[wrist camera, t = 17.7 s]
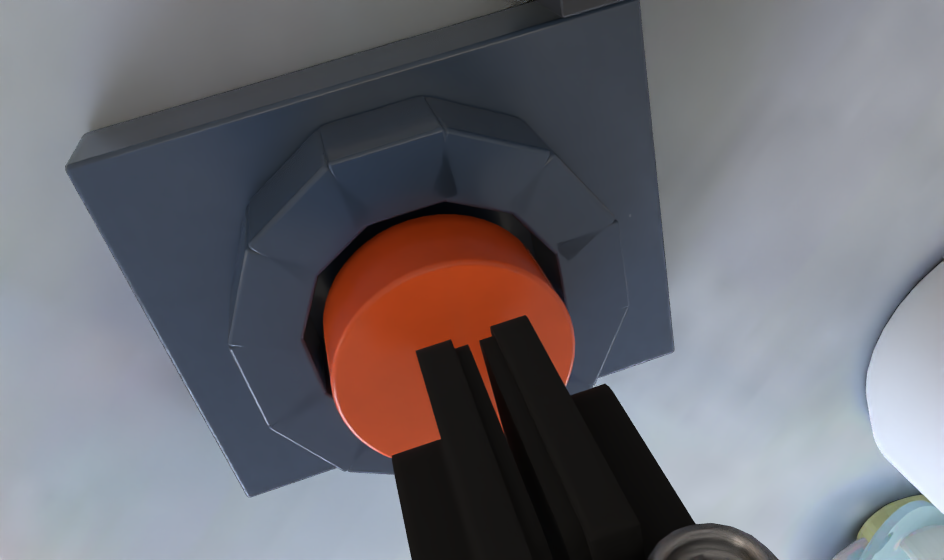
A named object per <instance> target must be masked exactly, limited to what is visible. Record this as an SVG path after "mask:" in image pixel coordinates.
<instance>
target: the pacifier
mask: <svg viewBox="0 0 944 560" xmlns="http://www.w3.org/2000/svg"><path fill="white" fill-rule="evenodd" d="M832 560H944V514H943V513H942V512H941V511H939V510H938V509H937V508H936V507H935V506H934V505H933V504H932V503H931V502H930V501H929V500H928V499H927V498H926V497H925V496H924V495H916V496H911V497H907V498H903V499H900V500H897V501H895V502H892V503H890V504H888V505H886V506H884V507H883V508H881V509H880V510H879V511H877V512H876V513H875V514H874V515H872V516H871V517H870V518H869V519H868V520H867V521H866V522H865V523H864V525H863V526H862V528H861V529H860V531H859V533H858V535H857V541H855V542H853V543H852V544H850V545H849V546H847V547H846V548H845V549H843V550H842V551H840V552H839V553H838V554H837V555H836V556H835V557H834V558H833V559H832Z"/></svg>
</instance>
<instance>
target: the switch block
mask: <svg viewBox="0 0 944 560" xmlns="http://www.w3.org/2000/svg"><path fill="white" fill-rule="evenodd" d="M65 170H66V172H67V174H68V176H69V178H70V180H71V181H72V183H73V185H74V187H75V189H76V190H77V192H78V194H79V196H80V198H81V199H82V201H83V203H84V205H85V206H86V208H87V210H88V212H89V214H90V215H91V217H92V219H93V221H94V223H95V224H96V226H97V228H98V230H99V232H100V233H101V235H102V237H103V239H104V241H105V242H106V244H107V246H108V248H109V250H110V251H111V253H112V255H113V257H114V259H115V260H116V262H117V264H118V266H119V268H120V269H121V271H122V273H123V275H124V276H125V278H126V280H127V282H128V284H129V285H130V287H131V289H132V291H133V293H134V294H135V296H136V298H137V300H138V302H139V303H140V305H141V307H142V309H143V311H144V312H145V314H146V316H147V318H148V320H149V321H150V323H151V325H152V327H153V329H154V330H155V332H156V334H157V336H158V338H159V339H160V341H161V343H162V345H163V346H164V348H165V350H166V352H167V354H168V355H169V357H170V359H171V361H172V363H173V364H174V366H175V368H176V370H177V372H178V373H179V375H180V377H181V379H182V381H183V382H184V384H185V386H186V388H187V390H188V391H189V393H190V395H191V397H192V399H193V400H194V402H195V404H196V406H197V408H198V409H199V411H200V413H201V415H202V416H203V418H204V420H205V422H206V424H207V425H208V427H209V429H210V431H211V433H212V434H213V436H214V438H215V440H216V442H217V443H218V445H219V447H220V449H221V451H222V452H223V454H224V456H225V458H226V460H227V461H228V463H229V465H230V467H231V469H232V470H233V472H234V474H235V476H236V478H237V479H238V481H239V483H240V485H241V486H242V488H243V490H244V492H245V494H246V495H247V497H253V496H256V495H259V494H262V493H265V492H268V491H271V490H274V489H277V488H280V487H282V486H285V485H288V484H291V483H294V482H297V481H300V480H303V479H306V478H309V477H312V476H315V475H317V474H320V473H323V472H326V471H329V470H332V469H335V468H339V469H341V470H342V471H349V472H358V473H375V474H393V475H394V470H393V464H392V458H389V457H387V456H384V455H382V454H380V453H378V452H377V451H375V450H373V449H371V448H370V447H368V446H367V445H366V444H364V443H363V442H362V441H361V440H360V439H358V438H357V437H356V436H355V435H354V434H353V433H352V432H351V431H350V429H349V428H348V427H347V425H346V424H345V423H344V422H343V420H342V418H341V416H340V414H339V412H338V411H337V409H336V405H335V402H334V399H333V396H332V390H331V383H330V376H329V369H328V361H327V354H326V347H325V340H324V333H323V313H324V307H325V302H326V298H327V295H328V292H329V289H330V287H331V285H332V283H333V281H334V279H335V277H336V275H337V274H338V272H339V271H340V269H341V268H342V266H343V265H344V264H345V262H346V261H347V260H348V259H349V258H350V257H351V256H352V254H353V253H354V252H355V251H356V250H357V249H359V248H360V247H361V246H362V245H363V244H364V243H365V242H367V241H368V240H369V239H371V238H372V237H374V236H375V235H377V234H378V233H380V232H382V231H384V230H386V229H387V228H389V227H391V226H393V225H396V224H398V223H401V222H404V221H406V220H409V219H413V218H417V217H421V216H427V215H435V214H458V215H467V216H472V217H476V218H480V219H484V220H486V221H489V222H491V223H494V224H496V225H498V226H500V227H502V228H504V229H505V230H507V231H509V232H510V233H511V234H513V235H514V236H515V237H516V238H518V239H519V240H520V241H521V242H522V243H523V244H524V245H525V246H526V248H527V249H528V250H529V251H530V253H531V254H532V256H533V257H534V259H535V260H536V262H537V263H538V265H539V266H540V268H541V269H542V271H543V272H544V274H545V275H546V277H547V278H548V280H549V281H550V283H551V284H552V286H553V288H554V289H555V291H556V292H557V294H558V295H559V297H560V298H561V300H562V301H563V303H564V304H565V306H566V308H567V310H568V313H569V315H570V317H571V321H572V324H573V328H574V335H575V356H574V362H573V367H572V371H571V374H570V377H569V380H568V383H567V385H566V388H567V390H568V392H569V394H570V395H573V394H576V393H579V392H582V391H585V390H588V389H591V388H592V387H593V385H594V384H595V383H596V381H597V379H598V378H600V377H603V376H606V375H609V374H612V373H615V372H617V371H620V370H623V369H626V368H629V367H632V366H635V365H638V364H641V363H644V362H647V361H650V360H652V359H655V358H658V357H661V356H664V355H667V354H670V353H672V352H674V341H673V331H672V321H671V311H670V301H669V291H668V281H667V271H666V261H665V251H664V241H663V231H662V221H661V211H660V201H659V191H658V181H657V171H656V161H655V151H654V141H653V131H652V121H651V111H650V101H649V91H648V81H647V71H646V61H645V51H644V41H643V30H642V20H641V10H640V0H624V1H620V2H617V3H613V4H610V5H607V6H603V7H600V8H597V9H593V10H590V11H587V12H583V13H580V14H576V15H573V16H570V17H566V18H562V17H561V16H559V15H557V14H555V13H554V12H552V11H550V10H549V9H547V8H545V7H544V6H542V5H540V4H539V3H537V2H535V1H534V2H530V3H527V4H523V5H520V6H517V7H513V8H510V9H506V10H503V11H500V12H496V13H493V14H489V15H486V16H483V17H479V18H476V19H472V20H469V21H466V22H462V23H459V24H455V25H452V26H449V27H445V28H442V29H438V30H435V31H432V32H428V33H425V34H421V35H418V36H415V37H411V38H408V39H404V40H401V41H398V42H394V43H391V44H387V45H384V46H381V47H377V48H374V49H370V50H367V51H364V52H360V53H357V54H354V55H350V56H347V57H343V58H340V59H337V60H333V61H330V62H326V63H323V64H320V65H316V66H313V67H309V68H306V69H303V70H299V71H296V72H292V73H289V74H286V75H282V76H279V77H275V78H272V79H269V80H265V81H262V82H258V83H255V84H252V85H248V86H245V87H241V88H238V89H235V90H231V91H228V92H224V93H221V94H218V95H214V96H211V97H207V98H204V99H201V100H197V101H194V102H190V103H187V104H184V105H180V106H177V107H173V108H170V109H167V110H163V111H160V112H157V113H153V114H150V115H146V116H143V117H140V118H136V119H133V120H129V121H126V122H123V123H119V124H116V125H112V126H109V127H106V128H102V129H99V130H95V131H92V132H89V133H86V134H84V135H83V136H82V138H81V140H80V142H79V143H78V145H77V147H76V149H75V150H74V152H73V154H72V156H71V157H70V159H69V161H68V163H67V164H66V166H65Z"/></svg>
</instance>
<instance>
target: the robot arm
mask: <svg viewBox="0 0 944 560" xmlns="http://www.w3.org/2000/svg"><path fill="white" fill-rule="evenodd" d="M490 331H491V335H492V336H491V337H488V338H485V339H482V340H479V342H480V347H481V351H482V354H483V358H484V362H485V365H486V369H487V373H488V376H489V380H490V383H491V387H492V391H493V394H494V398H495V402H496V405H497V409H498V413H499V416H500V420H501V424H502V427H503V430H502V427H501V425H500V422H499V420H498V417H497V415H496V412H495V410H494V407H493V405H492V402H491V400H490V397H489V395H488V392H487V390H486V387H485V385H484V382H483V380H482V377H481V375H480V372H479V370H478V367H477V365H476V362H475V360H474V357H473V355H472V352H471V350H470V347H469V345H468V344H467V345H464V346H461V347H458V348H454V346H453V343H452V340H451V339H450V340H447V341H444V342H441V343H438V344H434V345H431V346H428V347H425V348H422V349H419V350H416V355H417V358H418V362H419V365H420V369H421V372H422V375H423V379H424V382H425V386H426V389H427V393H428V396H429V399H430V403H431V406H432V410H433V413H434V416H435V420H436V423H437V427H438V430H439V434H440V437H441V439H439V440H436V441H433V442H430V443H427V444H424V445H421V446H418V447H415V448H412V449H409V450H406V451H403V452H400V453H397V454H394V455H392V464H393V470H394V475H395V479H396V484H397V489H398V494H399V499H400V504H401V509H402V514H403V519H404V524H405V529H406V534H407V539H408V543H409V548H410V553H411V558H412V560H778V559H777V557H776V556H775V555H774V554H773V553H772V552H771V551H770V550H769V549H768V548H767V547H766V546H764V545H763V544H762V543H761V542H759V541H758V540H757V539H756V538H754V537H753V536H752V535H750V534H748V533H745V532H743V531H741V530H739V529H736V528H734V527H731V526H725V525H720V524H714V523H707V524H695V522H694V521H693V519H692V518H691V516H690V514H689V513H688V511H687V510H686V508H685V506H684V505H683V503H682V502H681V500H680V498H679V497H678V495H677V494H676V492H675V490H674V489H673V487H672V486H671V484H670V482H669V481H668V479H667V478H666V476H665V474H664V473H663V471H662V470H661V468H660V466H659V465H658V463H657V462H656V460H655V458H654V457H653V455H652V454H651V452H650V450H649V449H648V447H647V445H646V444H645V442H644V441H643V439H642V437H641V436H640V434H639V433H638V431H637V429H636V428H635V426H634V425H633V423H632V421H631V420H630V418H629V417H628V415H627V413H626V412H625V410H624V409H623V407H622V405H621V404H620V402H619V401H618V399H617V397H616V396H615V394H614V393H613V391H612V390H611V389H610V387H609V386H607V385H606V384H603V385H600V386H597V387H594V388H591V389H588V390H585V391H582V392H579V393H576V394H573V395H570V394H569V392H568V390H567V388H566V387H565V385H564V383H563V381H562V379H561V377H560V376H559V374H558V372H557V370H556V368H555V366H554V365H553V363H552V361H551V359H550V357H549V355H548V353H547V352H546V350H545V348H544V346H543V344H542V342H541V341H540V339H539V337H538V335H537V333H536V331H535V330H534V328H533V326H532V324H531V322H530V320H529V319H528V317H527V316H526V315H524V316H520V317H517V318H514V319H511V320H508V321H505V322H502V323H499V324H496V325H493V326H490ZM503 431H504V432H503Z"/></svg>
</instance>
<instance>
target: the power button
mask: <svg viewBox="0 0 944 560" xmlns="http://www.w3.org/2000/svg"><path fill="white" fill-rule="evenodd" d="M524 315H526V316H527V317H528V319H529V320H530V322H531V324H532V326H533V328H534V330H535V331H536V333H537V335H538V337H539V339H540V341H541V342H542V344H543V346H544V348H545V350H546V352H547V353H548V355H549V357H550V359H551V361H552V363H553V365H554V366H555V368H556V370H557V372H558V374H559V376H560V377H561V379H562V381H563V383H564V385H565V387H566V385H567V383H568V380H569V377H570V374H571V371H572V367H573V362H574V356H575V335H574V328H573V324H572V321H571V317H570V315H569V313H568V310H567V308H566V306H565V304H564V303H563V301H562V300H561V298H560V297H559V295H558V294H557V292H556V291H555V289H554V288H553V286H552V284H551V283H550V281H549V280H548V278H547V277H546V275H545V274H544V272H543V271H542V269H541V268H540V266H539V265H538V263H537V262H536V260H535V259H534V257H533V256H532V254H531V253H530V251H529V250H528V249H527V248H526V246H525V245H524V244H523V243H522V242H521V241H520V240H519V239H518V238H516V237H515V236H514V235H513V234H511V233H510V232H509V231H507V230H505V229H504V228H502V227H500V226H498V225H496V224H494V223H491V222H489V221H486V220H484V219H480V218H476V217H472V216H467V215H458V214H435V215H427V216H421V217H417V218H413V219H409V220H406V221H404V222H401V223H398V224H396V225H393V226H391V227H389V228H387V229H386V230H384V231H382V232H380V233H378V234H377V235H375V236H374V237H372V238H371V239H369V240H368V241H367V242H365V243H364V244H363V245H362V246H361V247H360V248H359V249H357V250H356V251H355V252H354V253H353V254H352V256H351V257H350V258H349V259H348V260H347V261H346V262H345V264H344V265H343V266H342V268H341V269H340V271H339V272H338V274H337V275H336V277H335V279H334V281H333V283H332V285H331V287H330V289H329V292H328V295H327V298H326V302H325V307H324V313H323V333H324V340H325V347H326V354H327V361H328V369H329V376H330V383H331V390H332V396H333V399H334V402H335V405H336V409H337V411H338V412H339V414H340V416H341V418H342V420H343V422H344V423H345V424H346V425H347V427H348V428H349V429H350V431H351V432H352V433H353V434H354V435H355V436H356V437H357V438H358V439H360V440H361V441H362V442H363V443H364V444H366V445H367V446H368V447H370V448H371V449H373V450H375V451H377V452H378V453H380V454H382V455H384V456H387V457H389V458H392V455H394V454H397V453H400V452H403V451H406V450H409V449H412V448H415V447H418V446H421V445H424V444H427V443H430V442H433V441H436V440H439V439H441V437H440V434H439V430H438V427H437V423H436V420H435V416H434V413H433V410H432V406H431V403H430V399H429V396H428V393H427V389H426V386H425V382H424V379H423V375H422V372H421V369H420V365H419V362H418V358H417V355H416V350H419V349H422V348H425V347H428V346H431V345H434V344H438V343H441V342H444V341H447V340H450V339H451V340H452V343H453V346H454V348H458V347H461V346H464V345H467V344H468V345H469V347H470V350H471V352H472V355H473V357H474V360H475V362H476V365H477V367H478V370H479V372H480V375H481V377H482V380H483V382H484V385H485V387H486V390H487V392H488V395H489V397H490V400H491V402H492V405H493V407H494V410H495V412H496V415H497V417H498V420H499V422H500V425H501V427H502V424H501V420H500V416H499V413H498V409H497V405H496V402H495V398H494V394H493V391H492V387H491V383H490V380H489V376H488V373H487V369H486V365H485V362H484V358H483V354H482V351H481V347H480V342H479V340H482V339H485V338H488V337H491V336H492V335H491V331H490V326H493V325H496V324H499V323H502V322H505V321H508V320H511V319H514V318H517V317H520V316H524ZM502 430H503V427H502ZM503 432H504V431H503Z"/></svg>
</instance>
